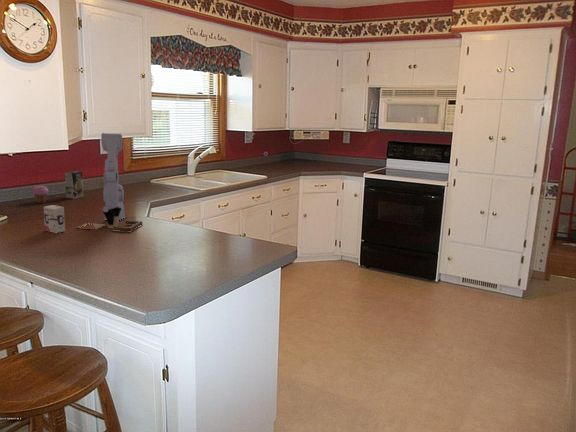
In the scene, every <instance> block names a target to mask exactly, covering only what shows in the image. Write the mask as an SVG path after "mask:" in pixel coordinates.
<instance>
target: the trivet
mask: <svg viewBox="0 0 576 432" xmlns="http://www.w3.org/2000/svg"><path fill="white" fill-rule="evenodd" d="M87 223H88V224H89V225H90V223H91V222H86V223H84V224H81V225H82V226H84V227H85V226H86V225H87ZM92 223H93V222H92ZM92 223H91V225H92ZM81 225H79V226H77V227H78V228H79V227H80V226H81ZM93 225H94V227H96V228H95V229H98V228H100V227H102V226H104V225H106V226H107V223H106V224H104V223H103V224H102V223H93ZM82 226H81V227H82ZM81 227H80V228H81ZM104 227H105V226H104ZM102 228H103V227H102ZM100 229H101V228H100ZM98 230H99V229H98Z"/></svg>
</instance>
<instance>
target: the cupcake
mask: <svg viewBox="0 0 576 432" xmlns="http://www.w3.org/2000/svg"><path fill="white" fill-rule="evenodd" d="M49 192H50V191H49V188H48V187H46V186H44V185H37V186H33V188H32V190H31V194H32V195H34V200H35V202H36V203H38V204H39V203H42V204H43V203H46V202H47V197H48V195H49Z"/></svg>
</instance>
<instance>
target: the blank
mask: <svg viewBox="0 0 576 432" xmlns="http://www.w3.org/2000/svg"><path fill="white" fill-rule="evenodd" d="M106 226H107V227H117V226H119V227H120V221H119V216H114V221H113V225H108V222H107V221H106Z"/></svg>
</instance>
